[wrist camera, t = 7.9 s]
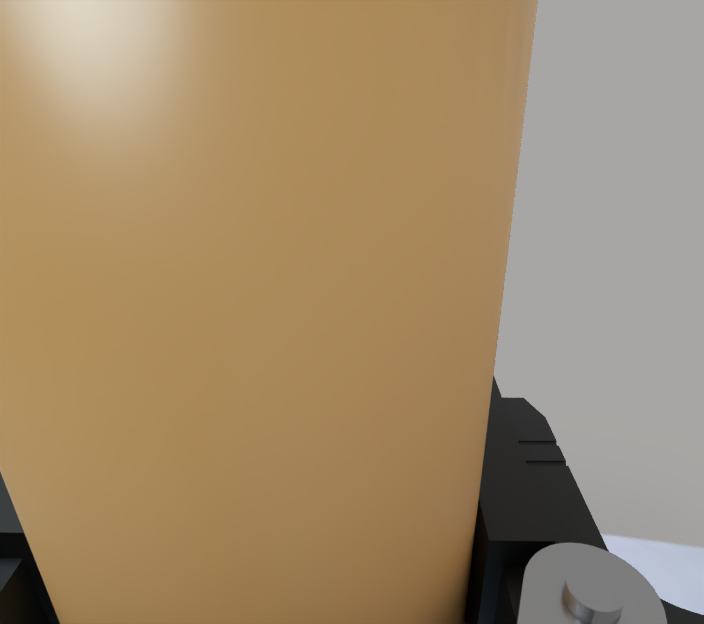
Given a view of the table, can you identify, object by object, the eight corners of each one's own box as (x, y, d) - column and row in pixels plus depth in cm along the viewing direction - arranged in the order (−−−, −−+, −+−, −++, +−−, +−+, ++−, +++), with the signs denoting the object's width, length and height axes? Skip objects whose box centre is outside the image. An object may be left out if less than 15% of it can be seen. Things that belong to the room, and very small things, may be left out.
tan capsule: (130, 884, 11) (-266, 16, 4) (299, 671, 14) (238, 26, 8) (328, 1165, 8) (116, -72, 1) (475, 815, 12) (618, 7, 5)
